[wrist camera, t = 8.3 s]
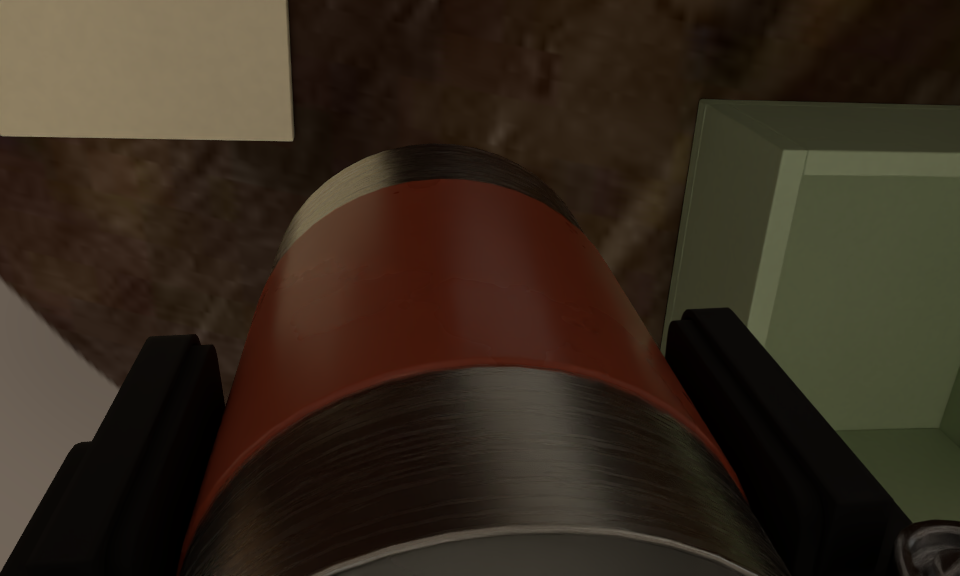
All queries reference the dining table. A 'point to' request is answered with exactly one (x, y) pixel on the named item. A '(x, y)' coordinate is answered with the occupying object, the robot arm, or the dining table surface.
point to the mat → (146, 69)
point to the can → (459, 399)
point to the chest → (840, 270)
